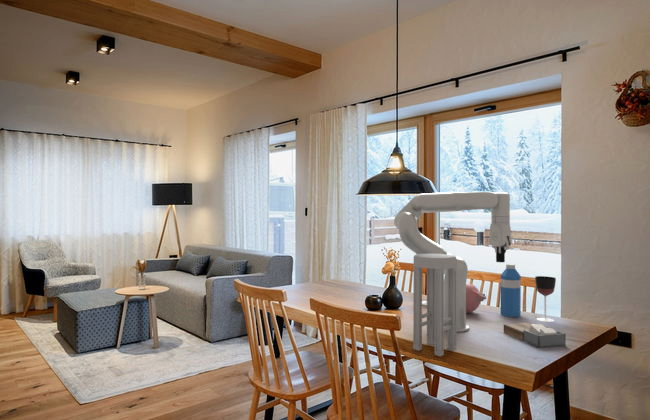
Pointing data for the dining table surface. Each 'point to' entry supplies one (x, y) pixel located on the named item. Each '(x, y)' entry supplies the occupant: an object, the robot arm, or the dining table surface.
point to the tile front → (547, 331)
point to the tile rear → (536, 328)
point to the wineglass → (545, 291)
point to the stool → (435, 301)
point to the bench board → (516, 329)
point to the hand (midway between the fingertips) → (500, 262)
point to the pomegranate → (473, 297)
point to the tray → (545, 339)
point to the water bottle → (510, 292)
